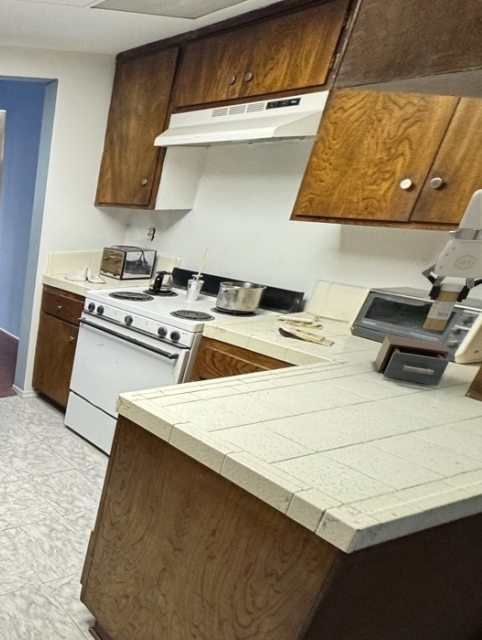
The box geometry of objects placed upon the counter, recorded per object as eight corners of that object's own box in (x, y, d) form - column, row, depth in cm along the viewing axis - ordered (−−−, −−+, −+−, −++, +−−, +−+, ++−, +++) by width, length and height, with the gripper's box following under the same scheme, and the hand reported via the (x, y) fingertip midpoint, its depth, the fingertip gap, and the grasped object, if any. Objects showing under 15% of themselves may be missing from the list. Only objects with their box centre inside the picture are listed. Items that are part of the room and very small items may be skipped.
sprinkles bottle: (443, 329, 142) (463, 284, 137) (444, 331, 139) (465, 285, 134) (421, 326, 145) (441, 282, 140) (421, 328, 142) (441, 283, 137)
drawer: (439, 389, 134) (452, 364, 131) (385, 380, 141) (396, 355, 138) (430, 374, 147) (441, 350, 144) (380, 366, 154) (390, 343, 151)
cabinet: (434, 381, 143) (448, 351, 140) (377, 372, 151) (390, 343, 147) (427, 370, 154) (440, 342, 150) (374, 361, 161) (386, 335, 157)
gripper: (433, 235, 134) (406, 298, 141) (525, 238, 124) (492, 306, 131) (429, 234, 139) (403, 295, 146) (517, 237, 129) (484, 302, 136)
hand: (445, 299), depth 138 cm, fingers closed on sprinkles bottle, 4 cm apart
